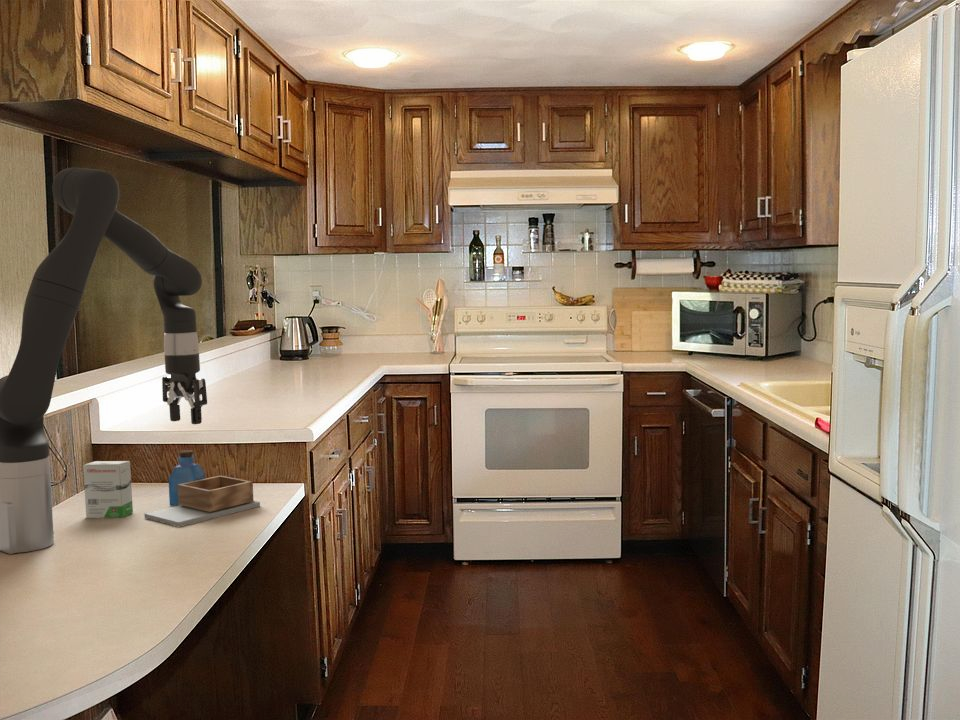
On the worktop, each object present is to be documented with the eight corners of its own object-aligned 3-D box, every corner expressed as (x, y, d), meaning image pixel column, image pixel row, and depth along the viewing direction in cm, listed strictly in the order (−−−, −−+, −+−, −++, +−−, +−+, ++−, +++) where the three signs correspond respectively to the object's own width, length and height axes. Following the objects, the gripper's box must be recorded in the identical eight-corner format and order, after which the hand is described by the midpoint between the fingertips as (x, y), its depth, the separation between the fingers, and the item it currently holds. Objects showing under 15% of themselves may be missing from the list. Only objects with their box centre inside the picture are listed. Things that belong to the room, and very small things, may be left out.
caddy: (209, 511, 186) (208, 491, 186) (178, 504, 193) (177, 484, 193) (253, 501, 195) (252, 481, 195) (221, 494, 202) (220, 475, 202)
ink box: (134, 512, 192) (131, 459, 191) (122, 518, 187) (120, 464, 186) (96, 512, 193) (94, 459, 192) (84, 518, 188) (81, 464, 187)
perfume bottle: (196, 505, 198) (194, 453, 197) (169, 505, 198) (167, 453, 197) (205, 498, 204) (203, 448, 203) (179, 499, 204) (177, 448, 203)
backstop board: (178, 527, 180) (177, 503, 179) (144, 518, 187) (143, 495, 187) (259, 506, 196) (259, 484, 196) (225, 498, 204) (224, 477, 204)
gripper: (214, 352, 197) (218, 422, 198) (178, 350, 205) (182, 417, 207) (185, 354, 191) (189, 427, 192) (149, 352, 200) (154, 422, 201)
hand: (185, 422), depth 200 cm, fingers open, 8 cm apart
